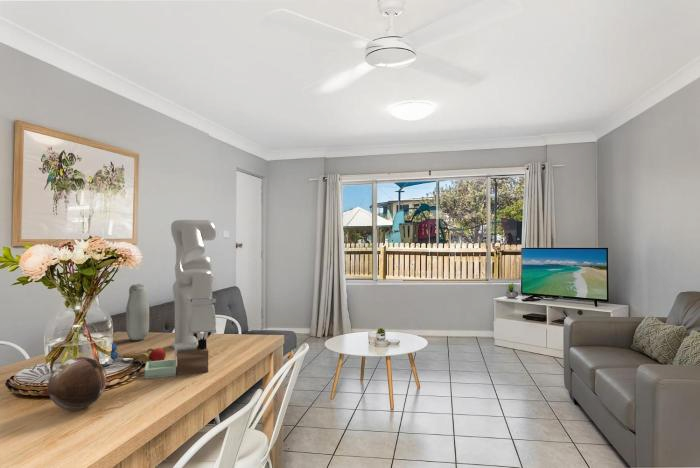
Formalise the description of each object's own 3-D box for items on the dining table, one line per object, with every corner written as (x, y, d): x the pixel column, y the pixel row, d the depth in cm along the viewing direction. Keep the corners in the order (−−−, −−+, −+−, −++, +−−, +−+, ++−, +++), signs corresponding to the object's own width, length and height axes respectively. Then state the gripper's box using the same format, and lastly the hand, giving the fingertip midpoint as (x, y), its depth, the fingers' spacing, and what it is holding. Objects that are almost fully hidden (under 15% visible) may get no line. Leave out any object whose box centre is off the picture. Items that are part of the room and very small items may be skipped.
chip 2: (185, 353, 173) (185, 343, 173) (196, 352, 175) (196, 342, 175) (186, 355, 170) (185, 345, 170) (197, 354, 171) (196, 344, 171)
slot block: (177, 366, 176) (177, 346, 176) (206, 363, 180) (206, 343, 180) (177, 375, 165) (177, 353, 165) (208, 371, 169) (208, 350, 169)
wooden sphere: (34, 415, 128) (35, 363, 128) (79, 397, 142) (79, 350, 143) (76, 420, 124) (76, 367, 124) (117, 401, 138) (117, 353, 139)
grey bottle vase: (137, 337, 229) (137, 282, 229) (153, 338, 225) (153, 283, 226) (121, 341, 219) (121, 284, 220) (137, 342, 216) (137, 285, 216)
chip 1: (174, 354, 172) (174, 343, 172) (185, 353, 174) (185, 342, 174) (174, 356, 168) (174, 346, 168) (185, 355, 170) (185, 345, 170)
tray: (146, 369, 172) (146, 361, 172) (175, 366, 176) (175, 359, 176) (144, 378, 161) (144, 370, 161) (176, 375, 165) (176, 367, 165)
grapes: (82, 367, 175) (82, 337, 175) (93, 362, 182) (93, 333, 182) (110, 368, 174) (110, 337, 174) (120, 363, 181) (120, 333, 181)
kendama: (117, 368, 179) (158, 363, 177) (117, 352, 180) (158, 347, 178) (130, 366, 187) (169, 361, 184) (130, 350, 188) (169, 346, 185)
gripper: (220, 300, 180) (220, 345, 180) (181, 302, 175) (181, 349, 174) (222, 302, 173) (223, 349, 173) (182, 304, 168) (182, 353, 167)
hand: (202, 349), depth 174 cm, fingers closed
